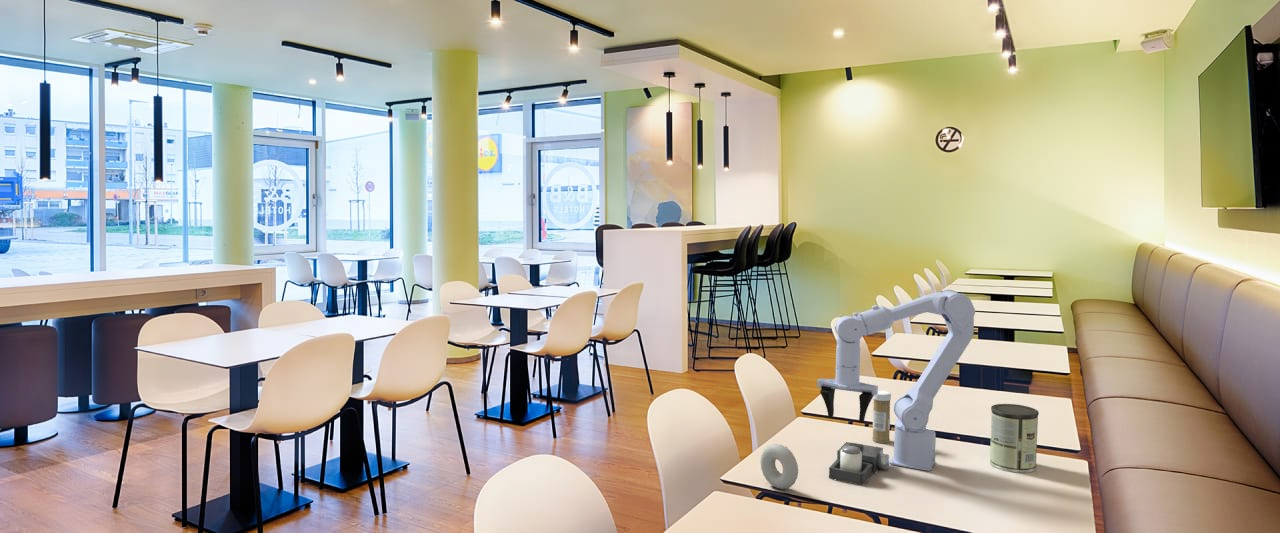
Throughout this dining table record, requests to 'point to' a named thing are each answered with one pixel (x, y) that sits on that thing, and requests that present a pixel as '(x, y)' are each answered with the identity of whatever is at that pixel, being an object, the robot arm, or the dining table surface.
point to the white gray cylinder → (851, 458)
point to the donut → (787, 463)
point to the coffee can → (1014, 437)
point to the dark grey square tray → (850, 473)
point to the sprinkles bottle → (881, 417)
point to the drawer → (871, 456)
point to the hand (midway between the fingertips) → (846, 419)
